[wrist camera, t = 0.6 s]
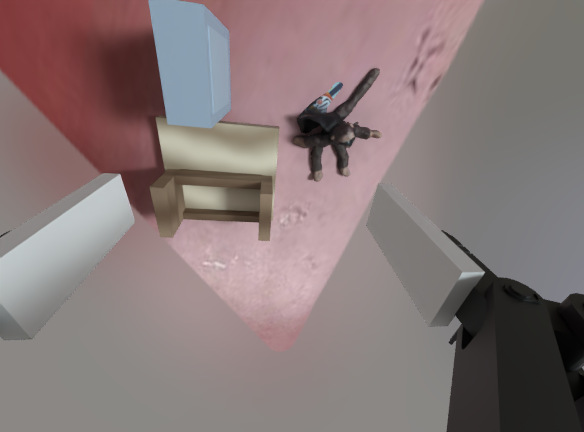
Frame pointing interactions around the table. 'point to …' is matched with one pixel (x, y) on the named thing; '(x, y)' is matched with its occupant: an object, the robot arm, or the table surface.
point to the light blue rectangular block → (191, 62)
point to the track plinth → (216, 174)
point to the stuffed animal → (333, 126)
